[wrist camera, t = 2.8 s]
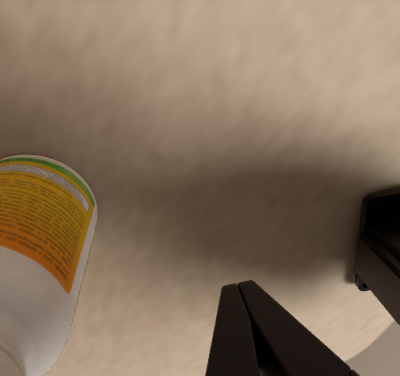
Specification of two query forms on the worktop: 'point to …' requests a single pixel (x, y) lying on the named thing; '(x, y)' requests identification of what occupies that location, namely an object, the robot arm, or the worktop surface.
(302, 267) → the worktop surface
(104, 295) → the worktop surface
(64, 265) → the supplement bottle
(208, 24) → the worktop surface
